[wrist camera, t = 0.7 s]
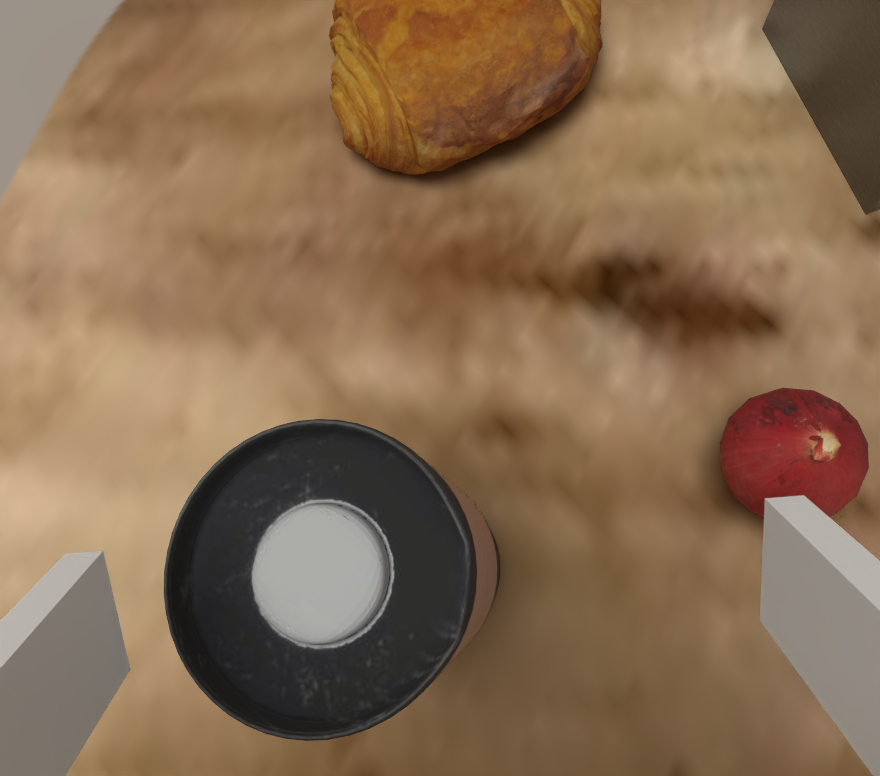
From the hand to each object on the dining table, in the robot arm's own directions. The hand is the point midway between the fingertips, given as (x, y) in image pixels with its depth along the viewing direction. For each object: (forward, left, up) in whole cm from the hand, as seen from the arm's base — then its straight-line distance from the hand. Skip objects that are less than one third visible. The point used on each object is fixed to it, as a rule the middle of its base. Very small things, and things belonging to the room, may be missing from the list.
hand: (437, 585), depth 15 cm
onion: (0, -14, -23) cm, 27 cm away
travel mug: (+1, +3, -23) cm, 23 cm away
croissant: (+27, -8, -23) cm, 36 cm away
